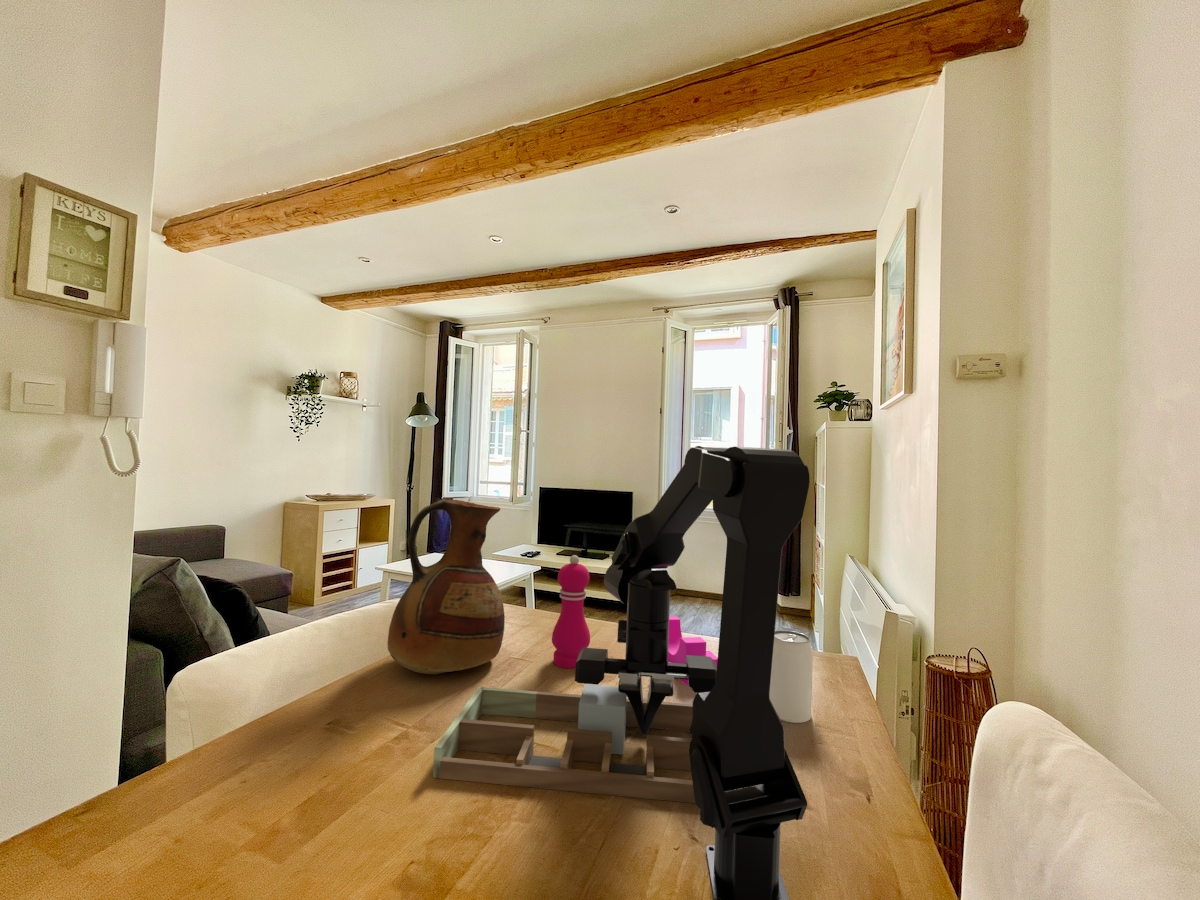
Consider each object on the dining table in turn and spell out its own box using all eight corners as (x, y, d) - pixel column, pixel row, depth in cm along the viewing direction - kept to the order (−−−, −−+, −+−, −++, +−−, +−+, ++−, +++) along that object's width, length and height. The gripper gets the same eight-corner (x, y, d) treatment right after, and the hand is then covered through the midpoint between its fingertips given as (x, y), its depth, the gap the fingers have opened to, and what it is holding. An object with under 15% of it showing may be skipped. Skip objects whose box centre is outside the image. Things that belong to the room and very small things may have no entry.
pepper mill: (545, 657, 97) (550, 552, 98) (580, 653, 100) (584, 551, 101) (558, 672, 90) (563, 559, 91) (595, 667, 93) (600, 558, 94)
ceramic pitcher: (512, 679, 87) (520, 504, 88) (384, 694, 79) (394, 502, 80) (492, 640, 105) (499, 495, 106) (387, 650, 97) (395, 494, 98)
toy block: (718, 685, 88) (719, 641, 89) (684, 686, 87) (685, 642, 87) (687, 653, 103) (688, 616, 103) (657, 654, 102) (659, 616, 102)
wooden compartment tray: (722, 805, 56) (723, 773, 56) (432, 777, 59) (434, 747, 59) (704, 729, 73) (705, 705, 73) (478, 710, 75) (479, 686, 75)
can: (762, 717, 77) (765, 637, 77) (770, 701, 83) (772, 626, 83) (808, 729, 74) (811, 646, 74) (813, 711, 80) (815, 634, 80)
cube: (623, 754, 65) (624, 707, 66) (577, 750, 66) (579, 703, 66) (625, 730, 71) (627, 687, 72) (583, 726, 72) (584, 683, 72)
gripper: (710, 604, 76) (707, 710, 75) (586, 597, 78) (582, 700, 77) (721, 628, 65) (717, 752, 64) (576, 619, 67) (571, 739, 66)
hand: (643, 733), depth 68 cm, fingers closed
